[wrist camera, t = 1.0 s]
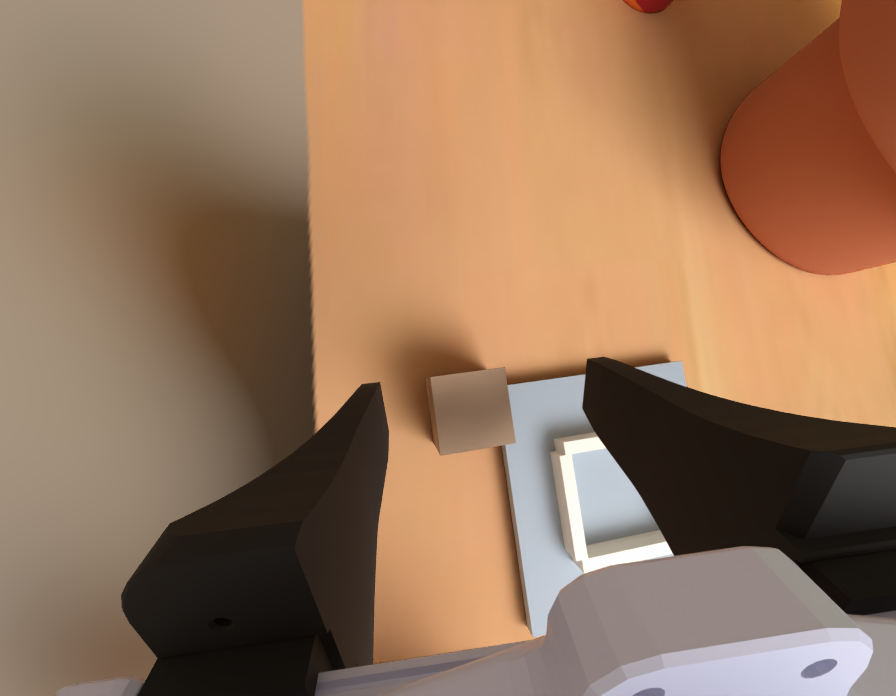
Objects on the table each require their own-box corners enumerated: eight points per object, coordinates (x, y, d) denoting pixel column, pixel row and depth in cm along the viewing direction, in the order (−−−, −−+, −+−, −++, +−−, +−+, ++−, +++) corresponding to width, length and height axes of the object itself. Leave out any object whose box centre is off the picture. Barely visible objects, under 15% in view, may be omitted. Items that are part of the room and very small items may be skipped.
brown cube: (495, 432, 25) (516, 443, 20) (433, 442, 24) (440, 455, 20) (486, 370, 25) (504, 367, 21) (425, 378, 24) (430, 377, 20)
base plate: (712, 582, 25) (746, 603, 23) (527, 626, 23) (542, 655, 21) (671, 361, 27) (698, 359, 24) (493, 386, 25) (503, 386, 22)
